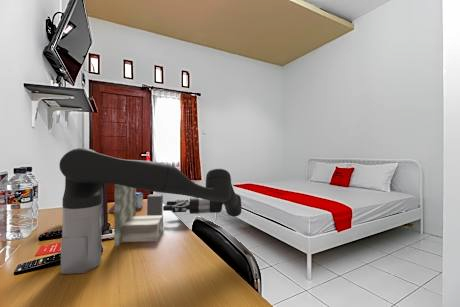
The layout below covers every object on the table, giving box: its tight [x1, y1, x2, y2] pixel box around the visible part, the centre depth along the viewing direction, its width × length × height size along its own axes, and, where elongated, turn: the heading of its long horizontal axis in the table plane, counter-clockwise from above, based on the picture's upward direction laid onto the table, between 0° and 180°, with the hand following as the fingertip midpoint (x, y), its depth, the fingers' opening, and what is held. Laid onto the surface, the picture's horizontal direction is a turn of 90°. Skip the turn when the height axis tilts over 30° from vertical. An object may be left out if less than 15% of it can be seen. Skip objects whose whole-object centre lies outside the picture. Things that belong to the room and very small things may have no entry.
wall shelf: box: [113, 184, 164, 247], centre depth 86 cm, size 18×14×24 cm
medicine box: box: [136, 192, 144, 210], centre depth 127 cm, size 8×4×9 cm, turn 81°
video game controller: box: [108, 203, 115, 214], centre depth 116 cm, size 10×5×7 cm, turn 48°
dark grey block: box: [146, 193, 164, 216], centre depth 104 cm, size 4×6×12 cm
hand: (165, 205), depth 105 cm, fingers open, 8 cm apart
